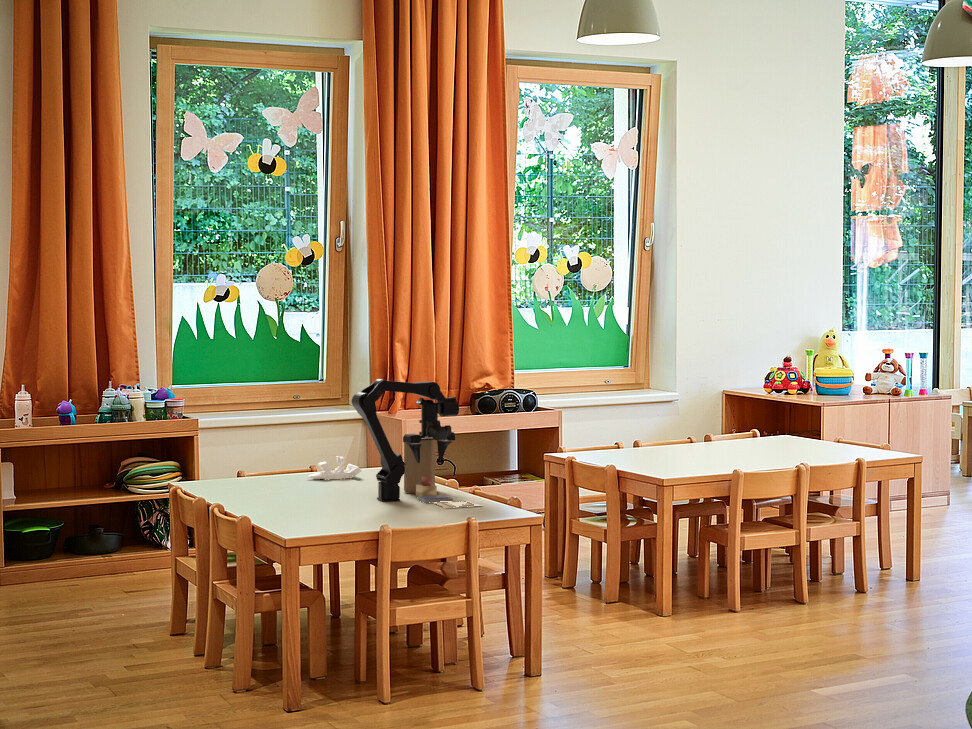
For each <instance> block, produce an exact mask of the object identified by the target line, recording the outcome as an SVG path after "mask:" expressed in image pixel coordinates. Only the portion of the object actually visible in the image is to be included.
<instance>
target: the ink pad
mask: <svg viewBox="0 0 972 729" xmlns="http://www.w3.org/2000/svg"><path fill="white" fill-rule="evenodd" d="M418 500H419V501H418ZM417 501H418V502H420V501H421V503H422V502H424V503H423V504H425V503H427V504H430V503H429V502H440V501H453V498H452V497H450V496H447V495H445V494H437V495H434V496H420V497H418V498H417Z"/></svg>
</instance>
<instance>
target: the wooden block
mask: <svg viewBox="0 0 972 729" xmlns="http://www.w3.org/2000/svg"><path fill="white" fill-rule="evenodd" d="M419 444H422V445H421V447H420V463H417V461H416V459H415V456H414V454H413V452H412V450H411V448H410V447H409V445H407V444H406V442H403V462H404V463H405V464H406V465H404V466H405V472H404V475H403V491H404V493H406V492H409V493H408V494H416V485H417V484H422V476H431V484H433V485H436V440H421V441H420V443H419Z"/></svg>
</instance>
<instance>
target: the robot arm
mask: <svg viewBox="0 0 972 729" xmlns="http://www.w3.org/2000/svg"><path fill="white" fill-rule="evenodd" d="M386 392H395V393H406V394H412V395H416V396H419V397H420V398H419V399H418V400H417V401H416V402H415V405H419V406H421V409H420V410H421V416H420V418H421V419H419V423H420V424H421V427H420V428H421V431H419V432H418V434H417V433H405V434H404V435H403V437H402V443H404V442H406V444H407V445H409V447H410V448H411V450H412V452H413V454H414V456H415V459H416V461H417V463H420V447H421V445H422V444H419V443H420V441H421V440H435V441H436V443H437V454H438V461H439V462H442V461H443V459H444V456H445V453H446V451H447V448H448V446H449V445H450V444H453V441H456V440H457V438H456V437H457V436H456V433H455V431H452V426H451V425H444V426H442V425H441V421H440V420H439V417H438V416H440V417H441V418H442V417H445V418H447V417H457V416H458V415H459V413H460V406H459V403H458V400H457V397H454V396H450V397H445V395H444V394H443V392H442V391H441V387H440V385H439V383H438V382H434V381H428V380H422V381H415V382H406V381H397V380H396V381H395V380H387V379H384V378H383V379H382V378H377V379H375V380H374V381H373V382H372V383H371V384H370V385H369V384H368V386H366V387H365V388H363V389H362V390H361V391H359V392H356V393H354V394H353V396H352V399H351V405H352V407H353V408H354V410H355V411H356V413H358V415H359V416H360V417H361V418H362V419H363V420H364V423H365V425H366V426H367V429H368V431H369V433H370V436H371V438H372V441H373V442H374V445H375V446H376V449H377V451H378V453H379V456H380V465H381V469H380V470H379V471H378V472H377V473H376V475H375V477H376V481H378V482H377V483H378V487H377V491H378V495H377V497H376V499H377V500H378V501H381V502H394V501H395V502H397V501H401V497H400V496H401V487H400V485H399V484H400V482H401V480H402V477H404V472H405V466H404V465H406V464H405V463H404V458H403V456H402V454H400V453H396V452H394V450H393V449H392V446H391V445H390V441H389V439H388V438H387V437H388V436H387V435H386V433H385V431H384V429H383V427H382V424H381V422H380V419H379V418H378V415H377V412H378V411H377V404H376V403H377V401H378V400H379V399H380V398H381V396H382V395H383V394H384V393H386ZM424 398H428V399H424ZM434 401H435V402H434Z"/></svg>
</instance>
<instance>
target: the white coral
mask: <svg viewBox="0 0 972 729" xmlns="http://www.w3.org/2000/svg"><path fill="white" fill-rule="evenodd" d="M335 457H336V459H335V462H336V464H339V465H338V466H337V467H336V468H334V470H332V468H331V467H330V465H329V464H328V463H327V462H326V461H322V462H318V463H317V465H318V466H319V468H320V469H321V470H322V471H320V472H316V473H312V474H309V475H307V478H308V479H312V480H314V479H315V480H320V479H340V480H343V479H342V478H352V479H353V477H356V476H357V475H359V474H360V473H361V472H362V469H361V468H360V467H359V466H357V465H354V464H351V463H348V464H347V466H346V468H345V463H346V459H345V457H344V456H339V455H335Z"/></svg>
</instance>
